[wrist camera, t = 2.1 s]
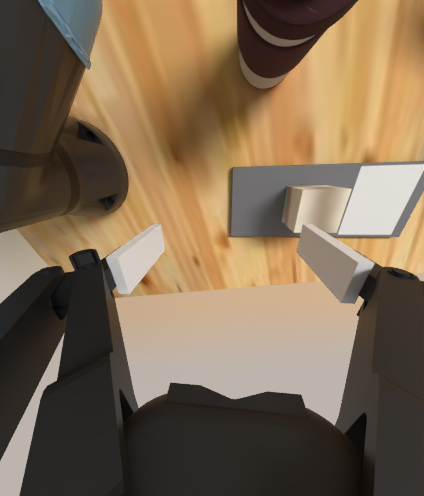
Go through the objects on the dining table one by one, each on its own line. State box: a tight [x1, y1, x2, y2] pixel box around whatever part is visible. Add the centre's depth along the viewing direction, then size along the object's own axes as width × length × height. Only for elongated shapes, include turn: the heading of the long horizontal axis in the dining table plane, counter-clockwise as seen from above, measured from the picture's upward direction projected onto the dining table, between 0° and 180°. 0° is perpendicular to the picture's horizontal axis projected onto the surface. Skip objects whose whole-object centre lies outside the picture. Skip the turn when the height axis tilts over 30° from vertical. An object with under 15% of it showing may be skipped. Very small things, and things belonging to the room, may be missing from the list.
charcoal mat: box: [231, 161, 424, 237], centre depth 27 cm, size 30×12×1 cm, turn 91°
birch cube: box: [281, 185, 352, 233], centre depth 24 cm, size 6×6×6 cm
